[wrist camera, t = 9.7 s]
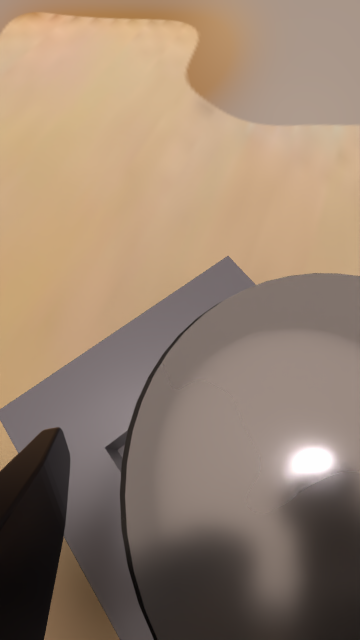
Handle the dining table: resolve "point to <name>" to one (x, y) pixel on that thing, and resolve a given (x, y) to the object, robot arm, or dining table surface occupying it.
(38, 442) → the robot arm
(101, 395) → the square plate with hole
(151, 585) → the shiny metal cylinder
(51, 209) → the dining table surface
